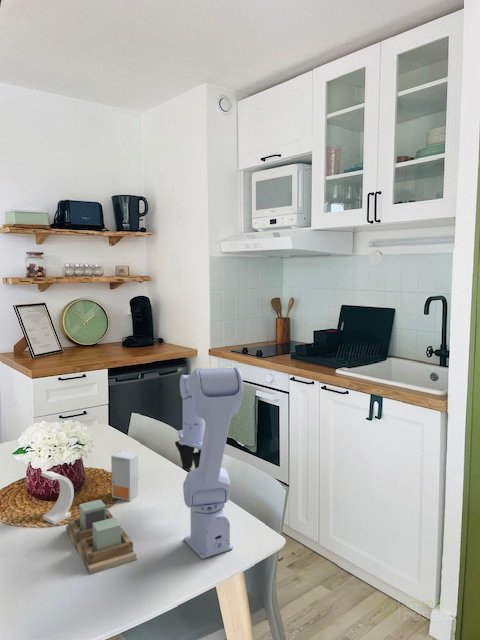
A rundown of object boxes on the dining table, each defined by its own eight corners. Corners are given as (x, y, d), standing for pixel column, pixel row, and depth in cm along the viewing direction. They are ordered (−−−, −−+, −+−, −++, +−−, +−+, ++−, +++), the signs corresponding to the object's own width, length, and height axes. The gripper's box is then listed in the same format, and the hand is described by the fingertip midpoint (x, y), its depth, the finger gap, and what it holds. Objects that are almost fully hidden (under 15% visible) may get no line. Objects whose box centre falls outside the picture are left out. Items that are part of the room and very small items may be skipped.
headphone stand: (42, 518, 127) (40, 472, 126) (63, 509, 132) (62, 464, 131) (53, 524, 124) (52, 477, 123) (74, 514, 129) (73, 469, 128)
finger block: (121, 551, 111) (120, 525, 110) (98, 558, 108) (97, 531, 107) (114, 541, 114) (114, 516, 114) (92, 548, 112) (91, 522, 111)
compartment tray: (136, 559, 110) (136, 545, 109) (89, 574, 105) (89, 559, 104) (107, 519, 127) (107, 507, 126) (66, 530, 121) (65, 517, 121)
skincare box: (111, 498, 138) (110, 455, 137) (120, 491, 142) (119, 450, 141) (130, 502, 136) (129, 458, 135) (139, 495, 140) (138, 453, 139)
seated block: (106, 531, 119) (106, 506, 118) (85, 537, 116) (84, 512, 116) (101, 523, 123) (100, 499, 122) (80, 528, 120) (79, 504, 119)
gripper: (167, 416, 132) (167, 466, 134) (192, 433, 120) (192, 488, 121) (192, 412, 136) (192, 461, 137) (218, 427, 123) (218, 481, 125)
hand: (194, 473), depth 130 cm, fingers open, 7 cm apart
